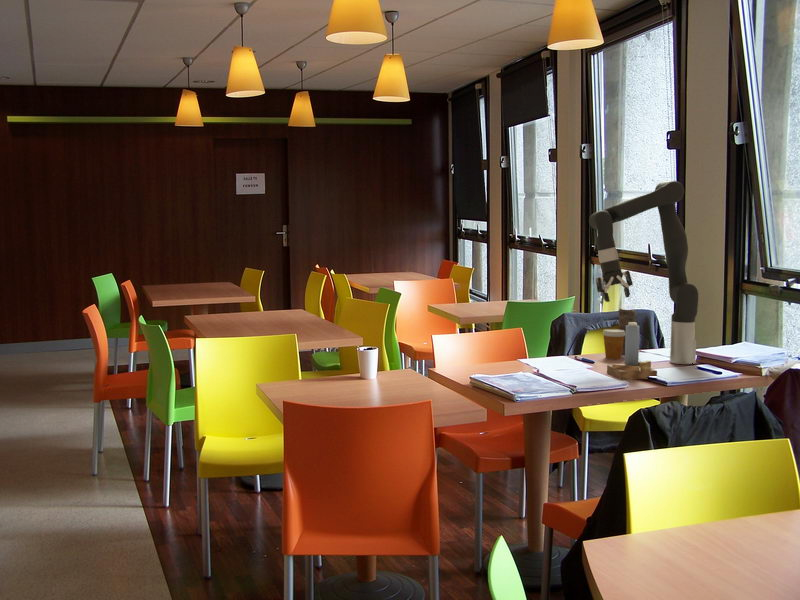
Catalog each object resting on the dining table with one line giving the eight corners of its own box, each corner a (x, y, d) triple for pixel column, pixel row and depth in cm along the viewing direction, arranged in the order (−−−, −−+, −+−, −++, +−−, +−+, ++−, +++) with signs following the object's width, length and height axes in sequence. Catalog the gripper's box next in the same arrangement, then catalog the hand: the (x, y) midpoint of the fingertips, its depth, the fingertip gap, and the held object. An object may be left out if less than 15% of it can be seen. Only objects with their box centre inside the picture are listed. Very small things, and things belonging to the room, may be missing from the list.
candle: (614, 353, 369) (615, 308, 367) (627, 352, 372) (628, 307, 370) (625, 355, 362) (626, 310, 360) (638, 354, 365) (640, 309, 363)
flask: (635, 366, 319) (636, 321, 317) (640, 368, 314) (641, 323, 312) (622, 366, 318) (623, 322, 317) (627, 369, 313) (628, 323, 312)
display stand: (642, 371, 325) (643, 356, 324) (659, 379, 310) (660, 363, 309) (604, 372, 323) (605, 357, 322) (619, 379, 308) (620, 363, 307)
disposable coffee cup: (622, 356, 360) (623, 329, 359) (626, 360, 351) (627, 332, 350) (600, 356, 361) (601, 328, 360) (603, 359, 352) (604, 331, 351)
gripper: (596, 263, 329) (605, 303, 329) (629, 255, 331) (638, 295, 331) (589, 264, 336) (597, 303, 336) (621, 257, 339) (629, 296, 339)
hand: (617, 299), depth 334 cm, fingers open, 8 cm apart
